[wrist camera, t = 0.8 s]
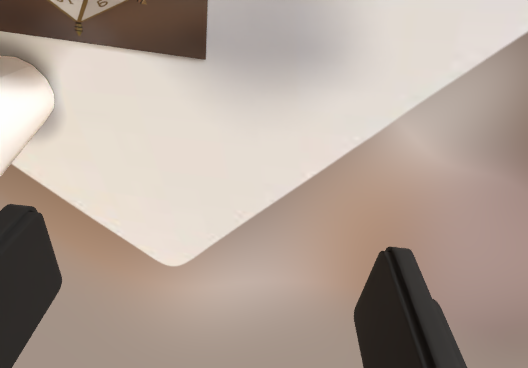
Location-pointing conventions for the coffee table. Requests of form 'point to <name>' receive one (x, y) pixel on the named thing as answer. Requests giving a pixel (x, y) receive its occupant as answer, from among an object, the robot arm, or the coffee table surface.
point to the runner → (117, 25)
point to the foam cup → (21, 106)
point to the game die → (86, 9)
